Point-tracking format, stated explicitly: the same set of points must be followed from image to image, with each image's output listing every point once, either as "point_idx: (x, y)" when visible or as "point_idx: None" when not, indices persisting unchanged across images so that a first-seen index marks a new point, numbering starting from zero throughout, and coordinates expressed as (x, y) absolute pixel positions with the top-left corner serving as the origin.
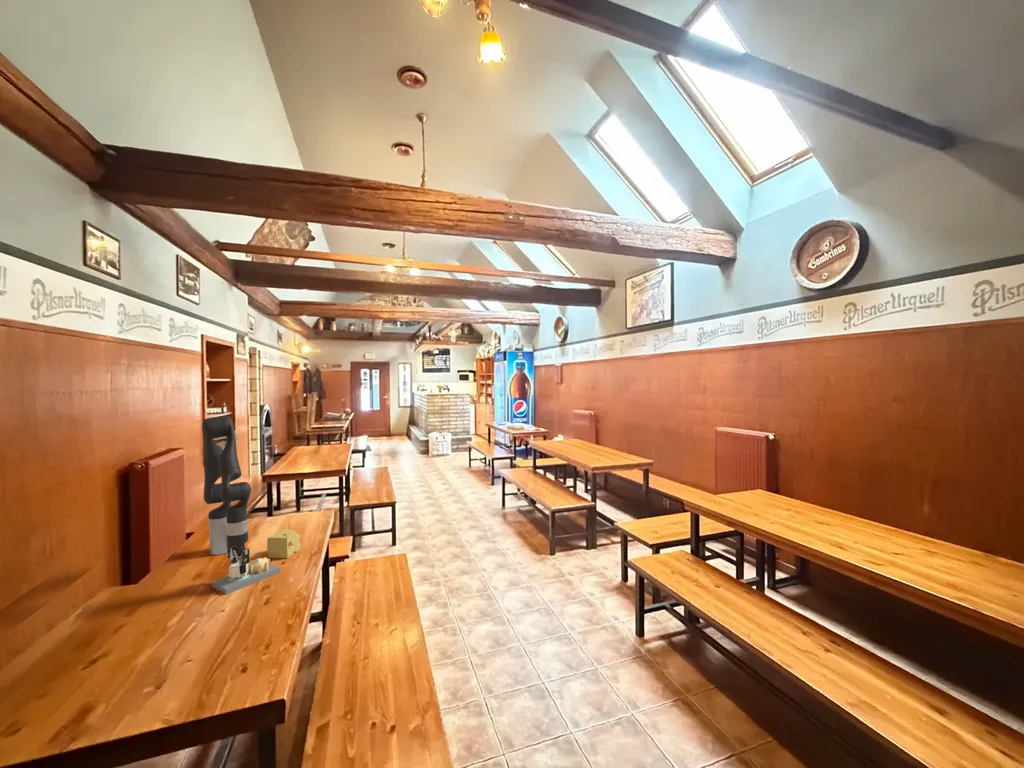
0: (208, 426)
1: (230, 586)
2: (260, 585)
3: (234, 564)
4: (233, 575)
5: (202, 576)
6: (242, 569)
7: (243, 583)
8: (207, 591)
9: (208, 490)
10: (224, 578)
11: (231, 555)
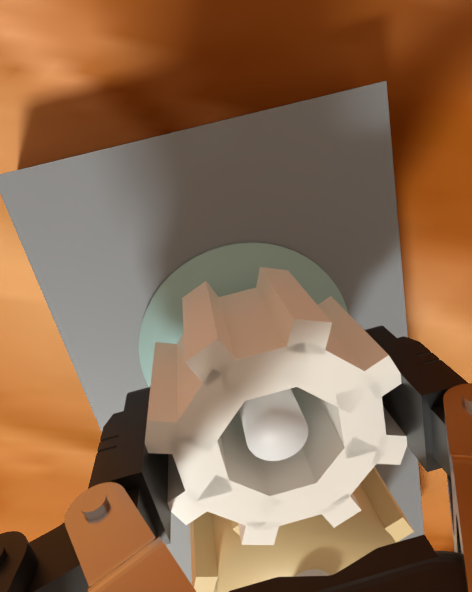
0: None
1: (54, 234)
2: (17, 451)
3: (346, 400)
4: (185, 314)
5: None
6: (97, 455)
7: (74, 355)
8: (267, 15)
9: None
10: (354, 220)
11: (457, 509)
